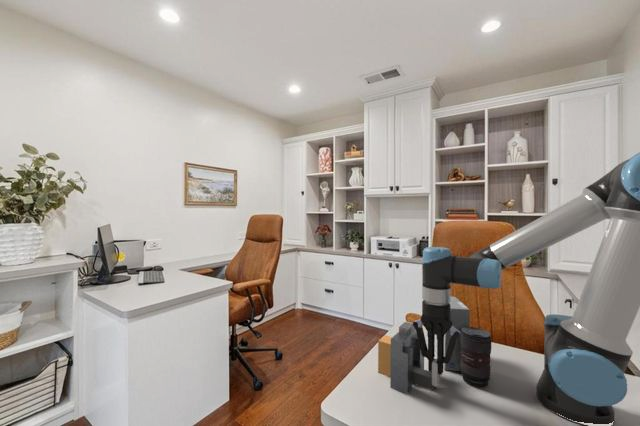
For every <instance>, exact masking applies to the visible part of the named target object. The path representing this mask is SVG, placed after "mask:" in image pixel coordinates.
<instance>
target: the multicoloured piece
mask: <svg viewBox="0 0 640 426" xmlns="http://www.w3.org/2000/svg"><path fill="white" fill-rule="evenodd" d="M392 337H393V336H389V335H387V334H386V335H383V336H382V337H381V338H379V340H378V341H377V342H378V344H377V346H378V347H377V350H378V352H377V362H378V363H377V369H378V370H377V373H378V374H381V375H385V376H386V377H390V372H391V338H392ZM413 384H414V385H416V386H419V387H421V388H424V389H426V390H429V391H433V389H434V387H435V386H433V385H432V372H430V371H429V370H426V369H425V368H424V369H421V368H418V367H415V366H413V374H412V385H413Z"/></svg>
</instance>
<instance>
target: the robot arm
mask: <svg viewBox="0 0 640 426" xmlns="http://www.w3.org/2000/svg"><path fill="white" fill-rule="evenodd" d="M604 220H609V221H608V224H607V227H606V230H605V232H604V235H603V238H602V240H601V242H600V245H599V247H598V251H597V253H596V254H595V259H594V260H593V263H592V266H591V268H590V271H589V273H588V275H587V278H586V281H585V284H584V286H583V289H582V291H581V294H580V296H579V299H578V302H577V304H576V307H575V309H574V312H573V315H572V316H571V315H565V314H564V315H563V314H554V313H553V314H548V315H547V314H546V316H545V317H544V323H543V326H544V337H543V339H544V340H543V341H544V344H543V345H544V350H543V351H544V352H543V353H544V357H543V358H544V361H543V362H544V366H543V371H542V372H541V375H540V377H539V378H538V381H537V384H536V386H535V397H536V398H537V400H538V402H539V403H540V404H541V405H542V406H544V408H546V409H547V410H549V411H550V410H551V411H550V412H552V411H553V412H555V413H558V414H560V415H562V416H564V417H566V418H568V419H571V420H573V421H577V422H584V423H593V424H609V423H612V422H613V421H614V422H615V411H614V408H613V406H614V405H617V404H619V403H620V402H622V401H623V400H624V399H625V398H626V395H627V393H628V382H627V381H628V380H627V378H626V375H625V372H626V370H627V367H628V365H629V362H630V360H631V358H632V357H633V356H632V355H633V352H634V351H633V350H632V348H631V347H630V346H629V344H628V342H627V338H628V335H629V333H630V331H631V328H632V326H633V324H634V321H635V319H636V317H637V314H638V312H639V310H640V151H639V152H637V153H636V154H634V155H633V156H631V157H630V158H628V159H626V160H624V161H622V162H620V163H619V164H618V165H616V166H615V167H613V168H612V169H611V170H610V171H608V172H607V173H605V175H603V176H602V177H600V178H599V179H598V180H596V181H594V182H593V183H592V184H589V185H588V186H586V187H584V188H583V189H582V193H581V195H579V196H577V197H575V198H573V199H572V200H569V201H568V202H566V203H564V204H562V205H560V206H559V207H557V208H554V209H553V210H551V211H550V212H548V213H545V214H544V215H542V216H541V217H538V218H537V219H535V220H533V221H531V222H529V223H528V224H526V225H524V226H522V227H521V228H519V229H517V230H515V231H513V232H511V233H510V234H507V235H506V236H504V237H502V238H500V239H498V240H496V241H495V242H493V243H491V244H489V245H487V246H486V247H484V248H483V249H481V250H479V251H474V252H473V253H472V254H471V255H470V256H458V255H452V251H451V249H450V248H448V247H443V246H428V247H425V248H423V250H422V260H421V261H422V262H421V267H422V269H421V270H422V276H421V277H422V285H421V286H422V287H421V290H422V291H421V294H422V295H421V299H422V302H421V306H422V307H421V309H422V310H421V313H422V314H421V315H420V319H415V320H414V321H413V322H412V324H413V326H414V328H415V329H416V332H417V337H418V341H419V345H420V350H421V354H422V356H423V357H424V358H426V359H427V360H428V362H427V363H428V364H427V365H428V367H427V368H428V370H427V371H430V372H432V385H433V386H434V387H436V388H437V387H438V386H439V384H440V381H441V380H440V376H442V375H443V373H444V367H443V363H446V364H448V363H449V361H450V359H451V356H452V352H453V349H454V345H455V342H456V339H457V337H458V336H459V335H460V333H461V330H459V329H456V328H455V327H454V326H452V322H451V319H450V304H449V302H450V300H451V286H452V285H451V284H456V285H457V284H458V285H463V286H469V287H477V288H482V289H494V290H495V289H500V287H501V286H502V271H503V270H505V269H507V268H508V267H511V266H513V265H515V264H516V263H519V262H521V261H523V260H525V259H526V258H529V257H531V256H533V255H536V254H537V253H540V252H542V251H543V250H545V249H547V248H549V247H552V246H553V245H556V244H558V243H559V242H562V241H564V240H565V239H569V238H570V237H572V236H574V235H576V234H578V233H580V232H582V231H584V230H587V229H588V228H590V227H592V226H595V225H597V224H598V223H600V222H602V221H604ZM423 327H424V328H423ZM424 329H425V330H426V332H427V335H426V336H427V341H426V336H425V333H424ZM449 329H450V330H451V332H450V334H451V335H452V336H451V338H450V341H449V345H448V348H447V352H446V355H445V357H444V335H445V333H446V332H447V331H448V330H449ZM435 334H436V335H437V353H436V351H435ZM435 353H436V354H435ZM436 355H437V356H436ZM435 357H436V358H435ZM553 412H552V413H553ZM555 413H554V414H555Z"/></svg>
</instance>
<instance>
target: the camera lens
mask: <svg viewBox="0 0 640 426" xmlns="http://www.w3.org/2000/svg"><path fill="white" fill-rule="evenodd" d="M460 343H461V364H460V366H461V371H460V373H461V375H462V380H463V382H465V384H468V385H469V386H471V387H474V388H478V389H483V388H484V389H485V388H487V387H488V386H489V381H490V378H491V367H492V366H491V353H492V336H491V332H489V331H487V330H485V329H482V328H479V327H475V326H470V327H463V328H462V331H461V341H460Z"/></svg>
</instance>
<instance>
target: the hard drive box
mask: <svg viewBox="0 0 640 426" xmlns="http://www.w3.org/2000/svg"><path fill="white" fill-rule="evenodd" d="M449 304H450V319H451V322H452V326H454V327H455V328H456V329H459V330H461V331H462V328H463V327H471V325H470V322H471V321H470V317H471V311H470V308H469V307H467V306H466V304H465V303H463V302H462V301H461V300H460V299H458V298H457V297H456V296H451V300H450V302H449ZM450 332H451V330H450V329H449V330H448V331H447V332H446V333H445V335H444V357H445V355H446V352H447V348H448V345H449V341H450V338H451V336H452V335H451V334H450ZM460 341H461V333H460V335H459V336H458V337H457V339H456V342H455V345H454V349H453V352H452V356H451V359H450V361H449V363H448V364H446V363H443V370H446V371H455V372H461V366H460V364H461V343H460ZM435 353H436V354H437V335H436V334H435Z"/></svg>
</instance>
